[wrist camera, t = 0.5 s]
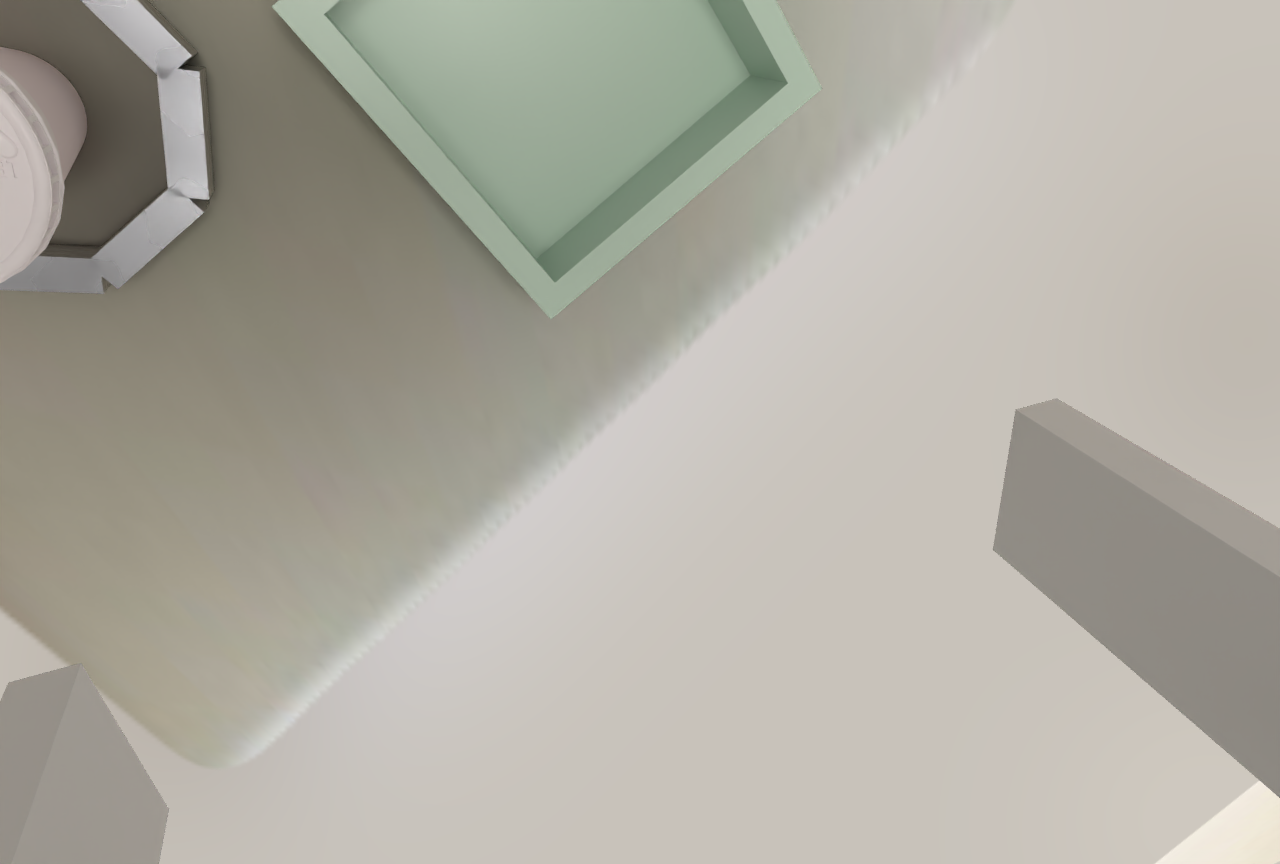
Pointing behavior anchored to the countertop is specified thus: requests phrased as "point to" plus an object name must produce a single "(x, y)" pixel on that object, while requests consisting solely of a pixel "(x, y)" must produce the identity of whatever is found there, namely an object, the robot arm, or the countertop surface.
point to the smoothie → (34, 154)
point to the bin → (563, 111)
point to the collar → (185, 158)
